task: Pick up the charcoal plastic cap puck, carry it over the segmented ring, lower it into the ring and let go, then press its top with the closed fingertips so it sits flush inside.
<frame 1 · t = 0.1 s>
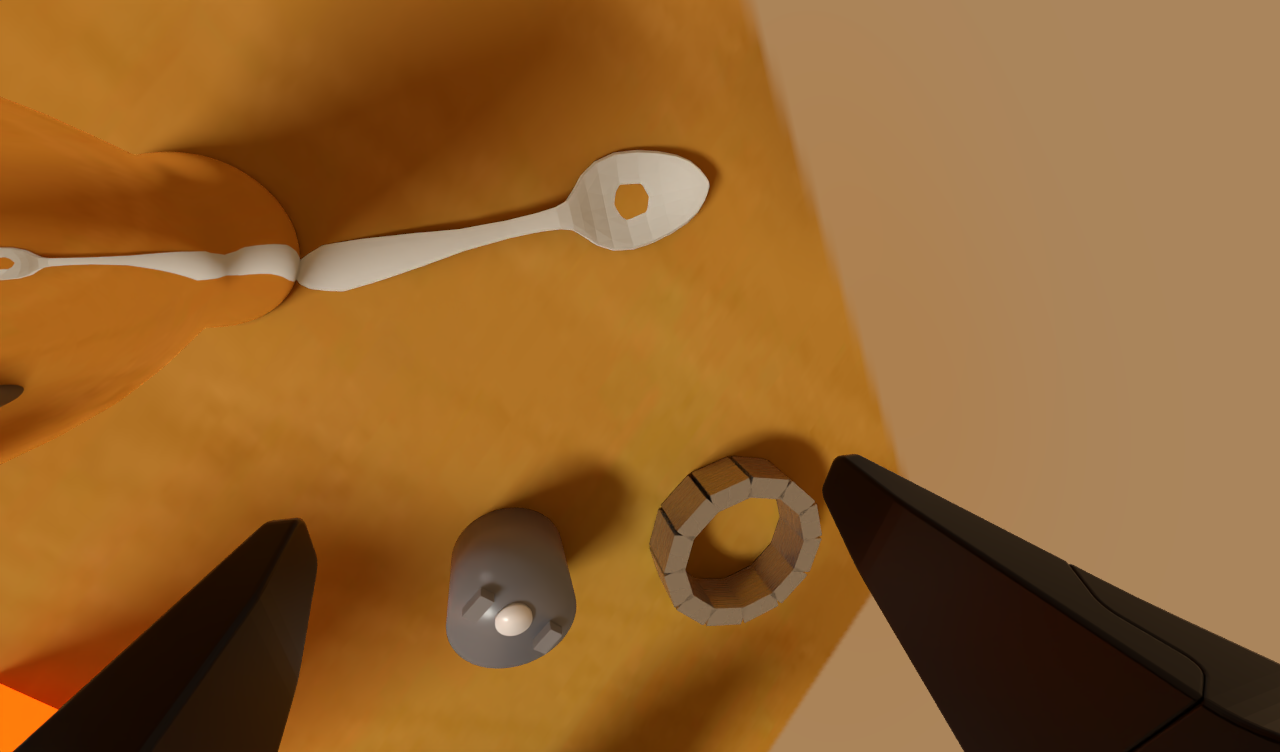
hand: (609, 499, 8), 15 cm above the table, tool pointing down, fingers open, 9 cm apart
spoon: (479, 234, 21), on the table
segmented ring: (726, 528, 30), on the table
cap: (508, 553, 26), on the table
beer glass: (207, 243, 18), on the table
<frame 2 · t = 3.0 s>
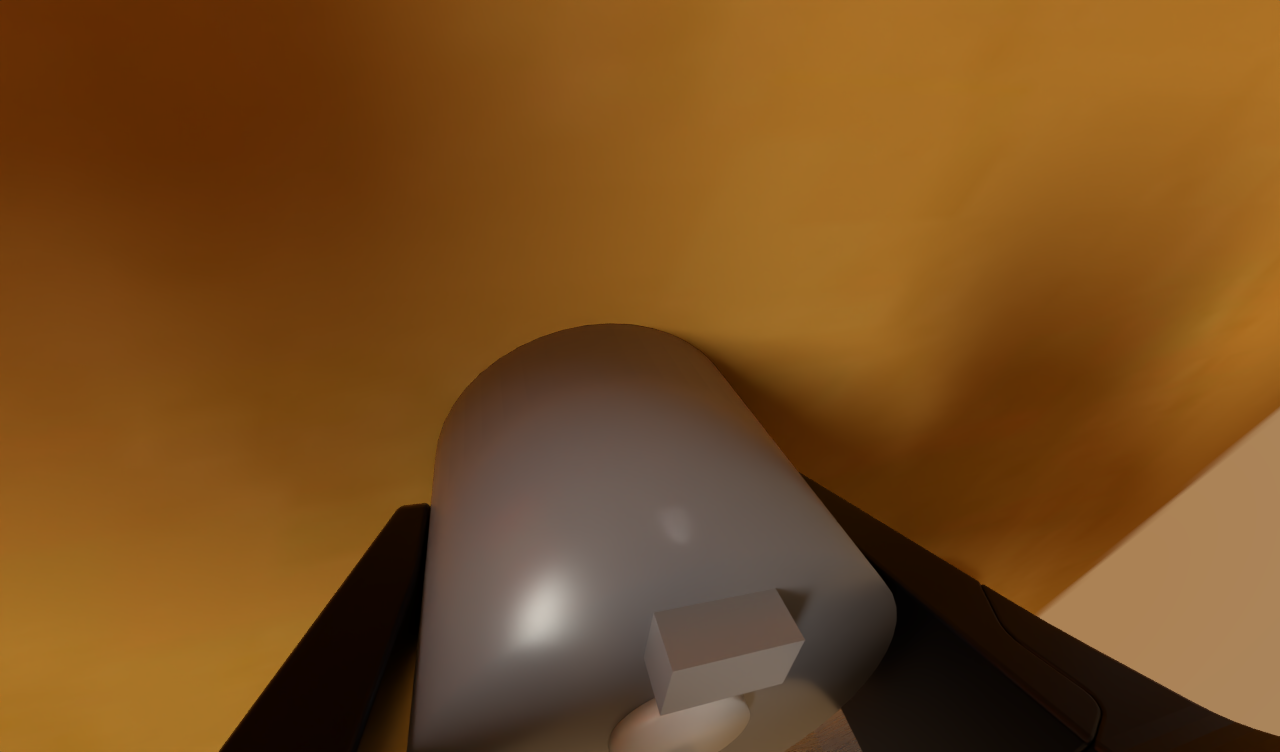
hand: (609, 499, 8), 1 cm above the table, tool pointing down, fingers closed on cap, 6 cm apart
segmented ring: (806, 659, 17), on the table
cap: (596, 458, 9), on the table, touching gripper
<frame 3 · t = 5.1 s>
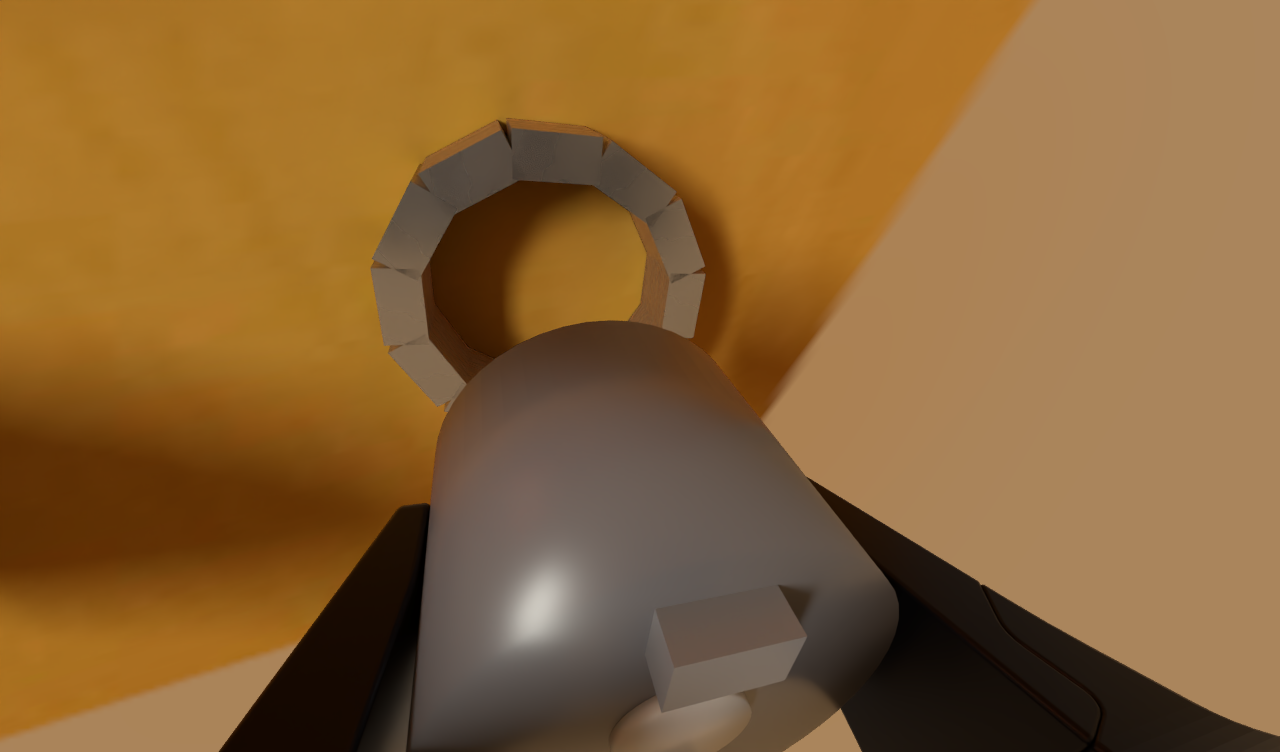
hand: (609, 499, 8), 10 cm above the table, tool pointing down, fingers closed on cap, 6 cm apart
segmented ring: (544, 277, 17), on the table
cap: (597, 456, 9), point 9 cm above the table, touching gripper
when the fingers open (3 cm above the table, at t = 7.2 s): cap drops 2 cm, resting in segmented ring.
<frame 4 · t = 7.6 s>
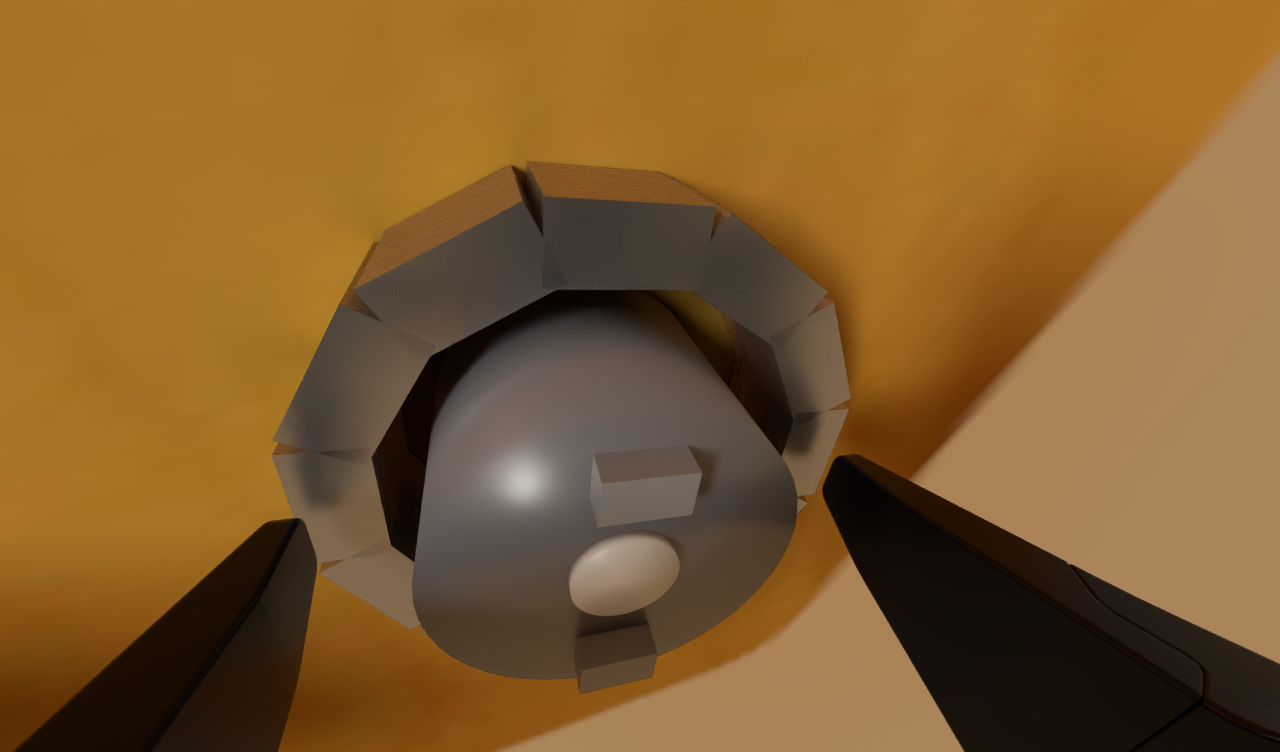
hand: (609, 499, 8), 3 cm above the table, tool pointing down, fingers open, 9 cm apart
segmented ring: (580, 400, 11), on the table
cap: (573, 396, 11), resting in segmented ring
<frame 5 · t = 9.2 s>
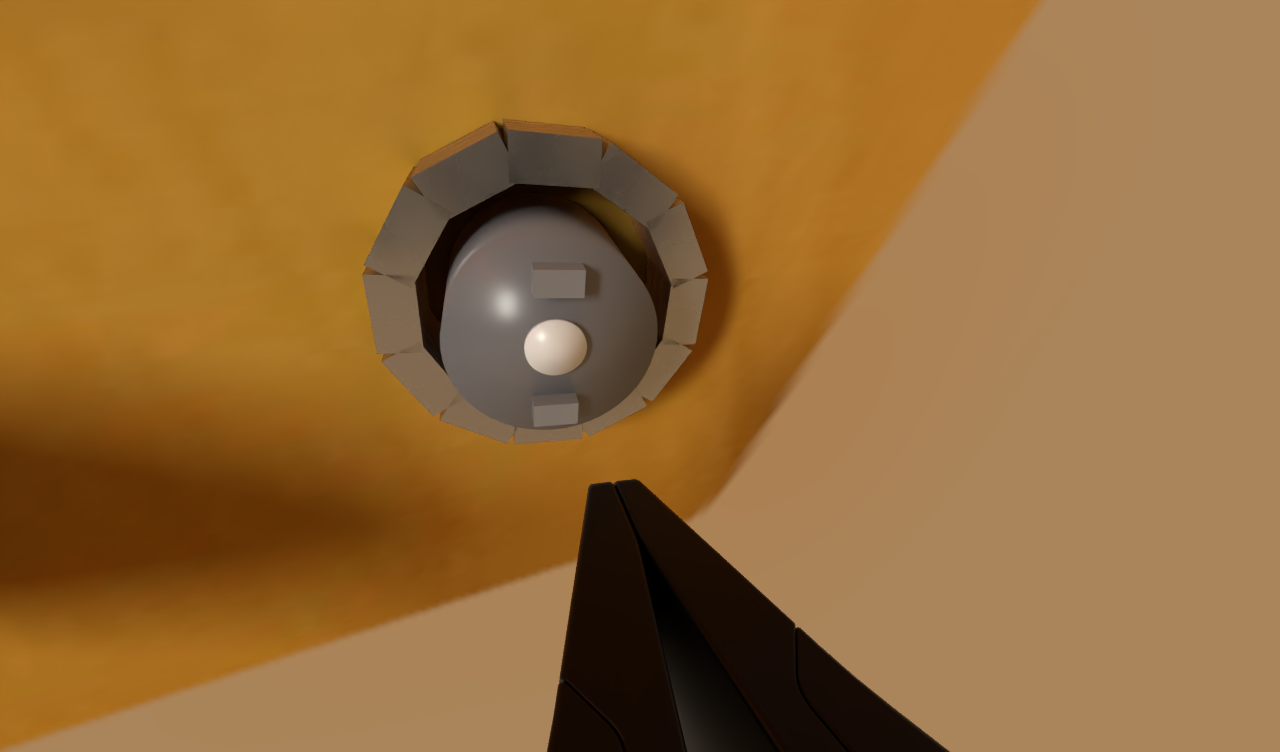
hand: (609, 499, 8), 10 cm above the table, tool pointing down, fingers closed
segmented ring: (542, 282, 16), on the table
cap: (538, 280, 16), resting in segmented ring
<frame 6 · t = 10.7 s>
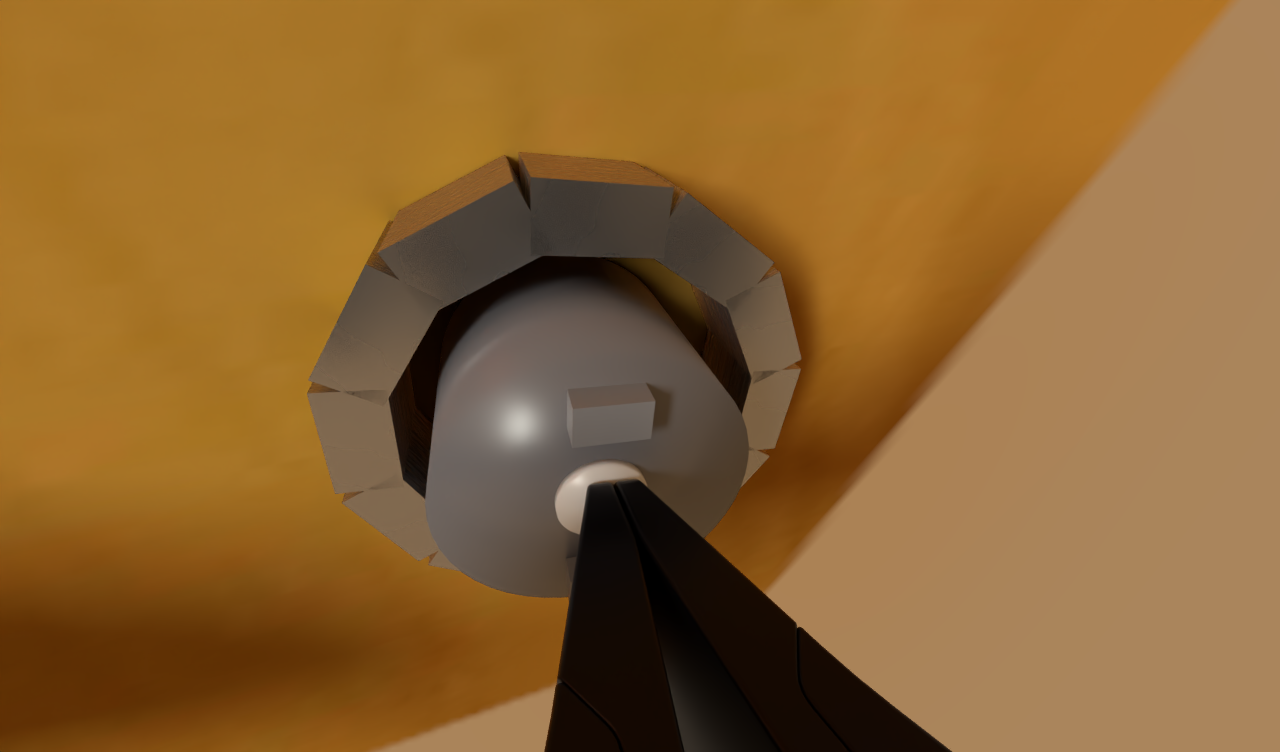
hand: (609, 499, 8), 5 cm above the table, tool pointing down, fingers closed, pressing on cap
segmented ring: (568, 365, 12), on the table
cap: (562, 363, 12), resting in segmented ring, touching gripper
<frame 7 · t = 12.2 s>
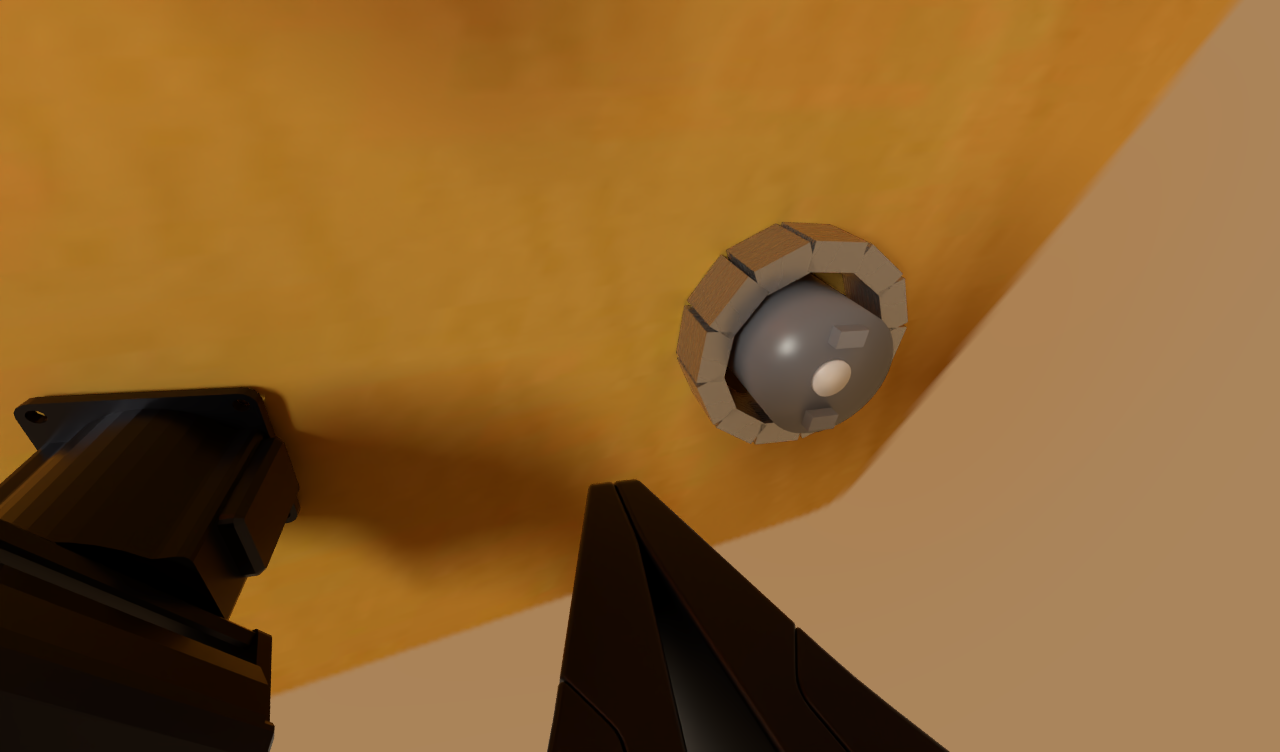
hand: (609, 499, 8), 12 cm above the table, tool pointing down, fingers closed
segmented ring: (776, 327, 23), on the table
cap: (772, 325, 23), resting in segmented ring
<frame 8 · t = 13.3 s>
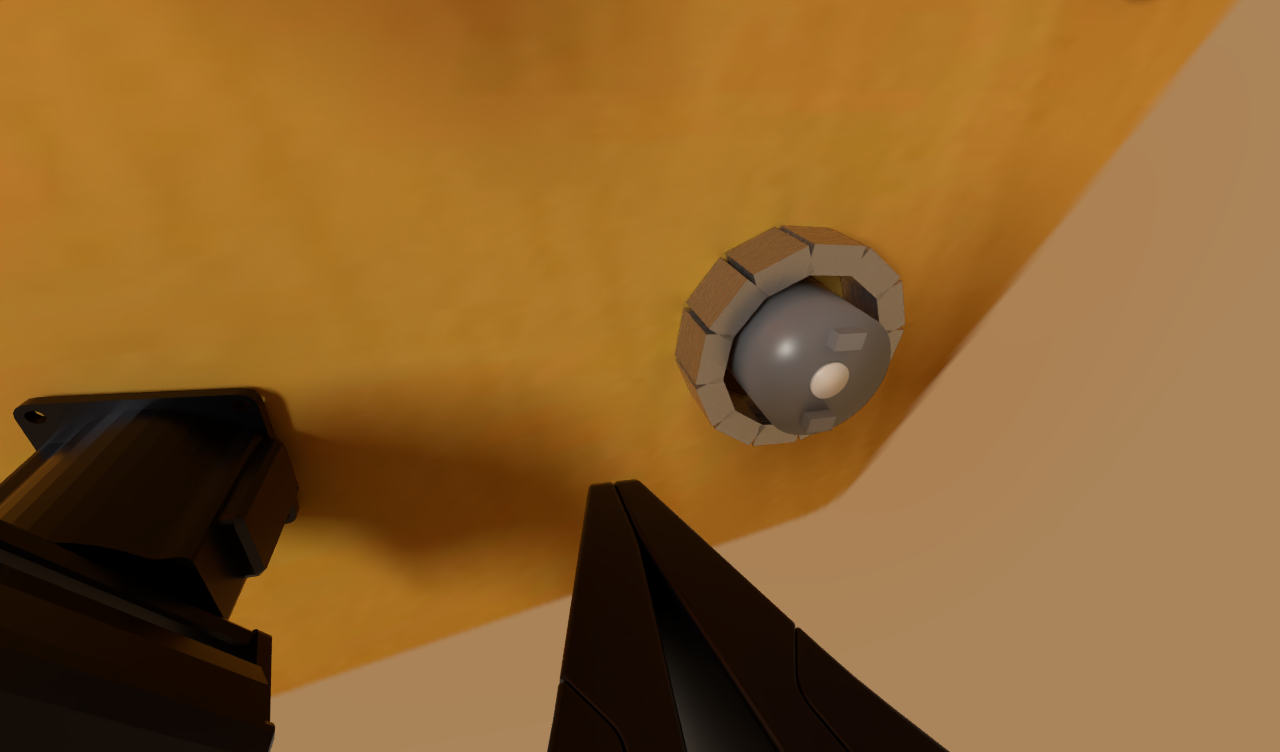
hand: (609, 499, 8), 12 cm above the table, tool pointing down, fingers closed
segmented ring: (774, 330, 23), on the table
cap: (771, 328, 23), resting in segmented ring
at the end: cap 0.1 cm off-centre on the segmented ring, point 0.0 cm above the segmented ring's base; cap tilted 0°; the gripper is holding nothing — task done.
